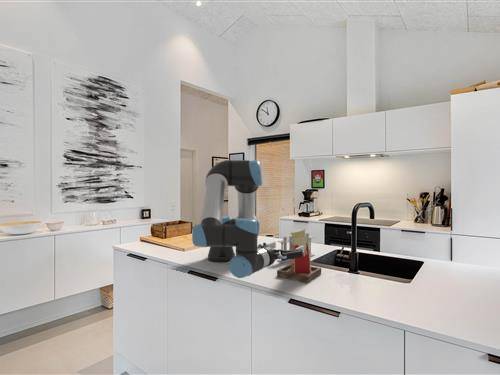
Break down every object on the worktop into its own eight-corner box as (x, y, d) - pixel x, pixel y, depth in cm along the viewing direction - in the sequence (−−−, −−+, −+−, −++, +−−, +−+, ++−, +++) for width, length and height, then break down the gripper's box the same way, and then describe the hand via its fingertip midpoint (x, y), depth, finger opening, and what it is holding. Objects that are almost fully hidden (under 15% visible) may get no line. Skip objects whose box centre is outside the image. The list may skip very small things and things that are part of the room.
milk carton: (307, 269, 140) (307, 227, 139) (311, 275, 130) (311, 230, 130) (288, 269, 139) (288, 227, 139) (291, 275, 130) (291, 230, 130)
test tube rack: (282, 263, 155) (283, 238, 154) (277, 261, 158) (277, 237, 158) (314, 255, 170) (314, 233, 169) (308, 254, 173) (308, 232, 173)
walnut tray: (276, 276, 133) (277, 270, 133) (292, 268, 146) (292, 262, 145) (307, 283, 125) (307, 276, 125) (321, 273, 137) (321, 268, 137)
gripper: (235, 262, 117) (264, 251, 134) (291, 274, 103) (315, 260, 120) (235, 243, 117) (264, 234, 134) (292, 252, 102) (316, 241, 120)
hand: (288, 246), depth 127 cm, fingers open, 13 cm apart
